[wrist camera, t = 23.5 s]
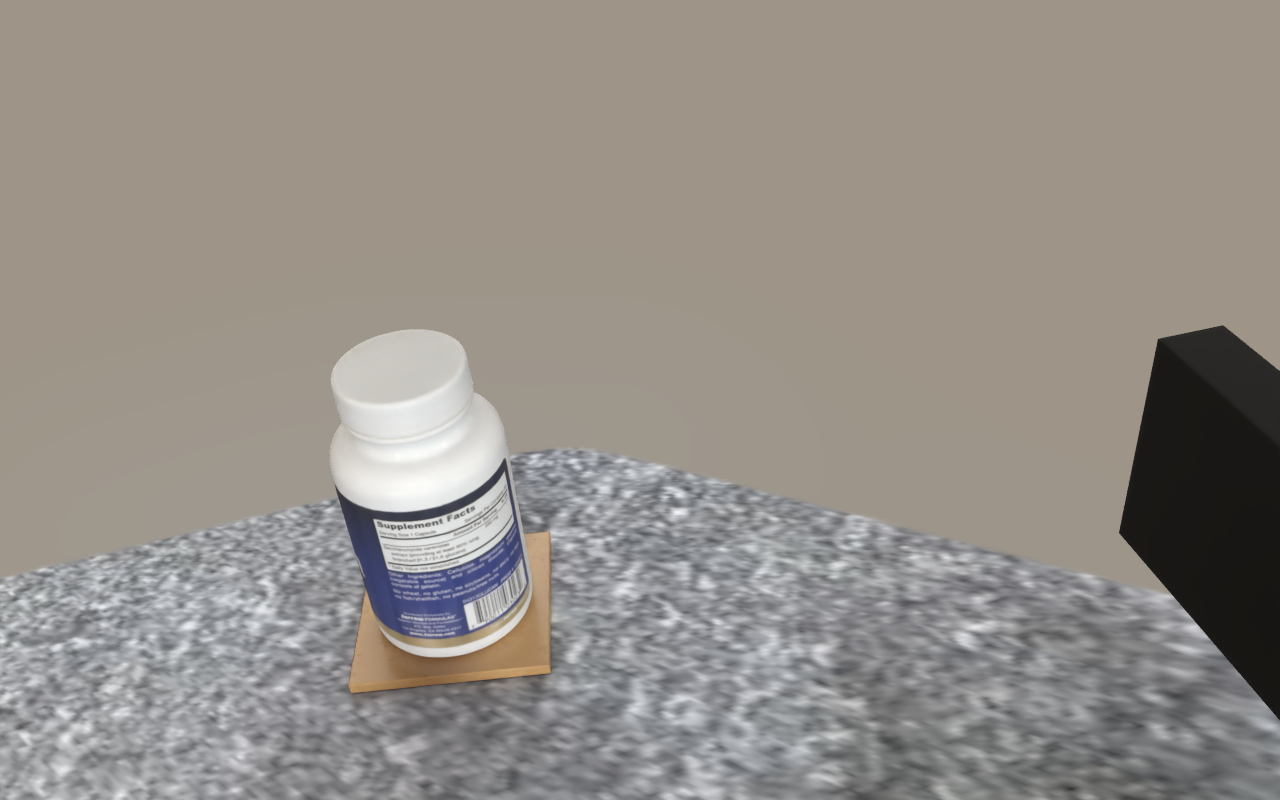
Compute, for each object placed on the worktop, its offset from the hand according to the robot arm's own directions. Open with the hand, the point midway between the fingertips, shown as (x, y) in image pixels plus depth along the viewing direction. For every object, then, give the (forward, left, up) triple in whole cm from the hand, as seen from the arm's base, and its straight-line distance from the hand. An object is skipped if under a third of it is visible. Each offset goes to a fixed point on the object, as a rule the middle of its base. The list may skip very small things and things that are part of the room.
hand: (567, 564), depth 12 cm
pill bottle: (+6, -20, -20) cm, 29 cm away
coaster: (+6, -20, -20) cm, 29 cm away
